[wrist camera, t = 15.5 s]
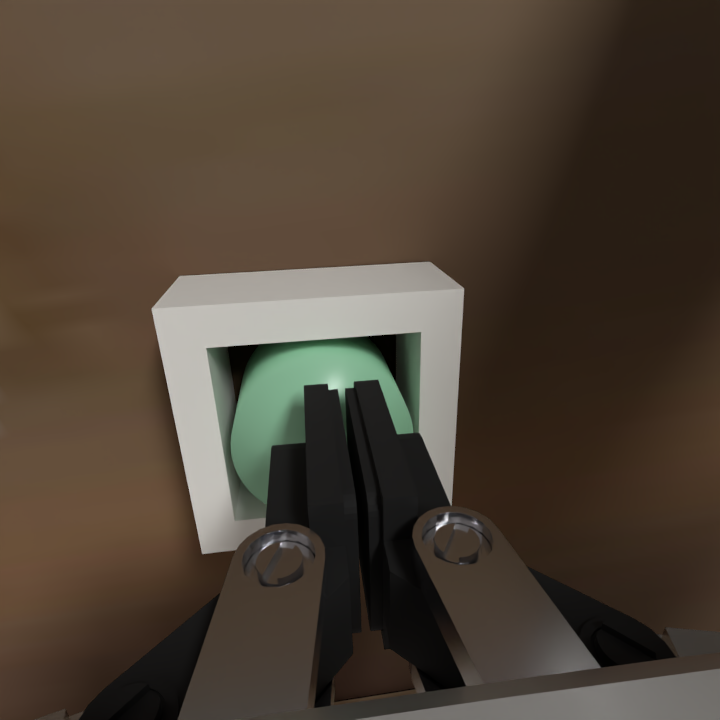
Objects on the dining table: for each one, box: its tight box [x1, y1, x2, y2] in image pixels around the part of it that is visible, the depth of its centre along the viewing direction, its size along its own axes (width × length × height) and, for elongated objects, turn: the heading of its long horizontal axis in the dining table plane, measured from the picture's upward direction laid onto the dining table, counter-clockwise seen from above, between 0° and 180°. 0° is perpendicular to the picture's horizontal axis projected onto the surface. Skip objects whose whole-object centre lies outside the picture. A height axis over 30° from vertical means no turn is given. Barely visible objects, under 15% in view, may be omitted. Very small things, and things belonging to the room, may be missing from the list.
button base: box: [152, 262, 464, 554], centre depth 14 cm, size 7×7×3 cm
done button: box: [231, 336, 413, 505], centre depth 13 cm, size 4×4×3 cm
